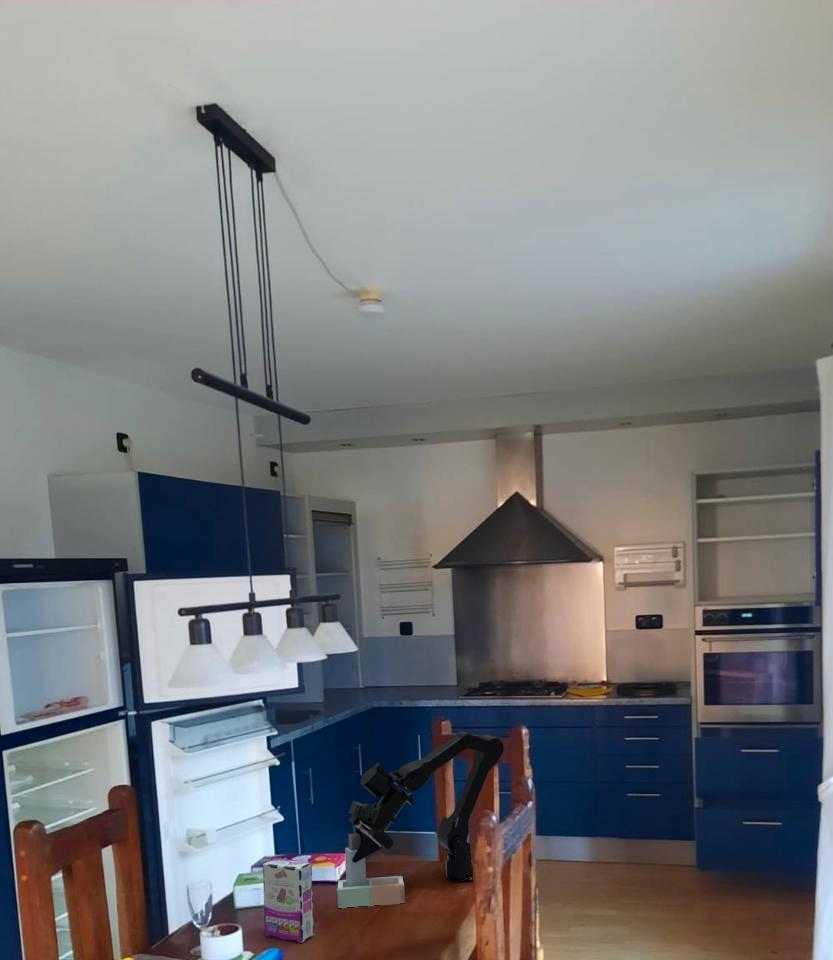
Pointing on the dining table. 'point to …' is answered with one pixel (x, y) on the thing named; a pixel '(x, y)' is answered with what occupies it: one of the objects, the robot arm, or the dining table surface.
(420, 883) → the dining table surface
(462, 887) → the dining table surface
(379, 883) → the socket block
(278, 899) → the candy bar box
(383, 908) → the dining table surface
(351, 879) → the grey capped bottle
